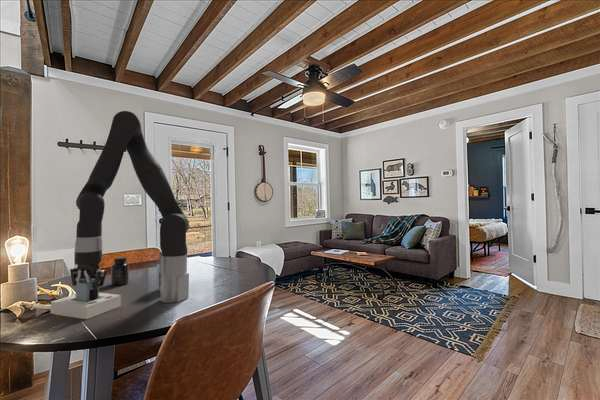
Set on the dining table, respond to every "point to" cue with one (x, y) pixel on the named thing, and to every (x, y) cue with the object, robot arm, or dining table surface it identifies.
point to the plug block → (83, 291)
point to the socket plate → (85, 306)
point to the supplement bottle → (120, 272)
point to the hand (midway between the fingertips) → (87, 298)
